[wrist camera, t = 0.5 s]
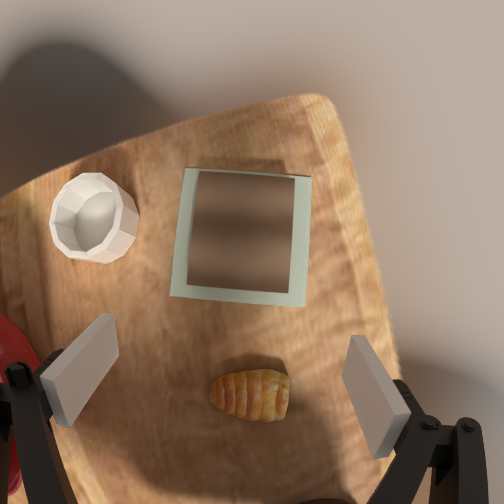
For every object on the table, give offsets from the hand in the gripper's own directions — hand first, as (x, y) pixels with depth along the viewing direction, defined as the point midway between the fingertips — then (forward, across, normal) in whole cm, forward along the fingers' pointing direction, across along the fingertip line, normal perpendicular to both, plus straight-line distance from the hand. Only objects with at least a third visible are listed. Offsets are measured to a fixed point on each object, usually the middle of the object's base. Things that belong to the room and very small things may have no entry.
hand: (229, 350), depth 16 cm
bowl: (+22, +18, -2) cm, 29 cm away
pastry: (+16, -3, +16) cm, 23 cm away
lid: (+22, 0, -2) cm, 22 cm away
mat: (+22, 0, -2) cm, 22 cm away
